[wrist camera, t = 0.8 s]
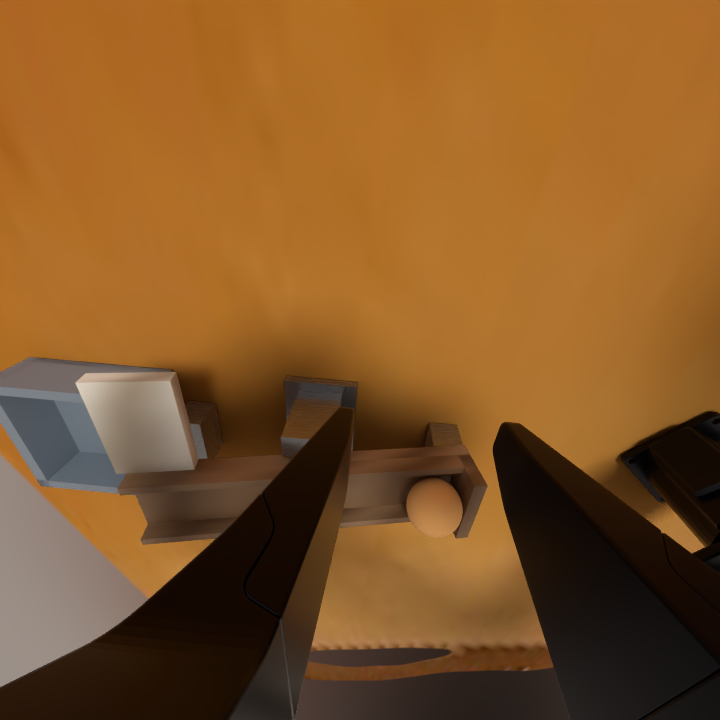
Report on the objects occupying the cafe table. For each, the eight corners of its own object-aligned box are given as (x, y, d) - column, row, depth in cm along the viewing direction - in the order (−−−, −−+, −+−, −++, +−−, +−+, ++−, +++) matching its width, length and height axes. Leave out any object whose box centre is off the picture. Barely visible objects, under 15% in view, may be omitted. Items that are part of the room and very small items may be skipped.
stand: (465, 391, 22) (487, 446, 18) (438, 488, 27) (450, 550, 23) (180, 366, 23) (130, 413, 18) (205, 466, 28) (170, 522, 23)
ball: (458, 478, 22) (483, 525, 19) (421, 506, 23) (440, 555, 20) (427, 458, 20) (449, 506, 17) (389, 489, 21) (404, 540, 18)
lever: (480, 357, 19) (520, 402, 16) (443, 483, 25) (467, 538, 21) (98, 361, 16) (36, 417, 13) (154, 503, 22) (122, 571, 18)
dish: (172, 369, 23) (140, 399, 20) (197, 463, 27) (174, 499, 24) (29, 357, 23) (-25, 384, 20) (78, 452, 28) (41, 486, 25)
